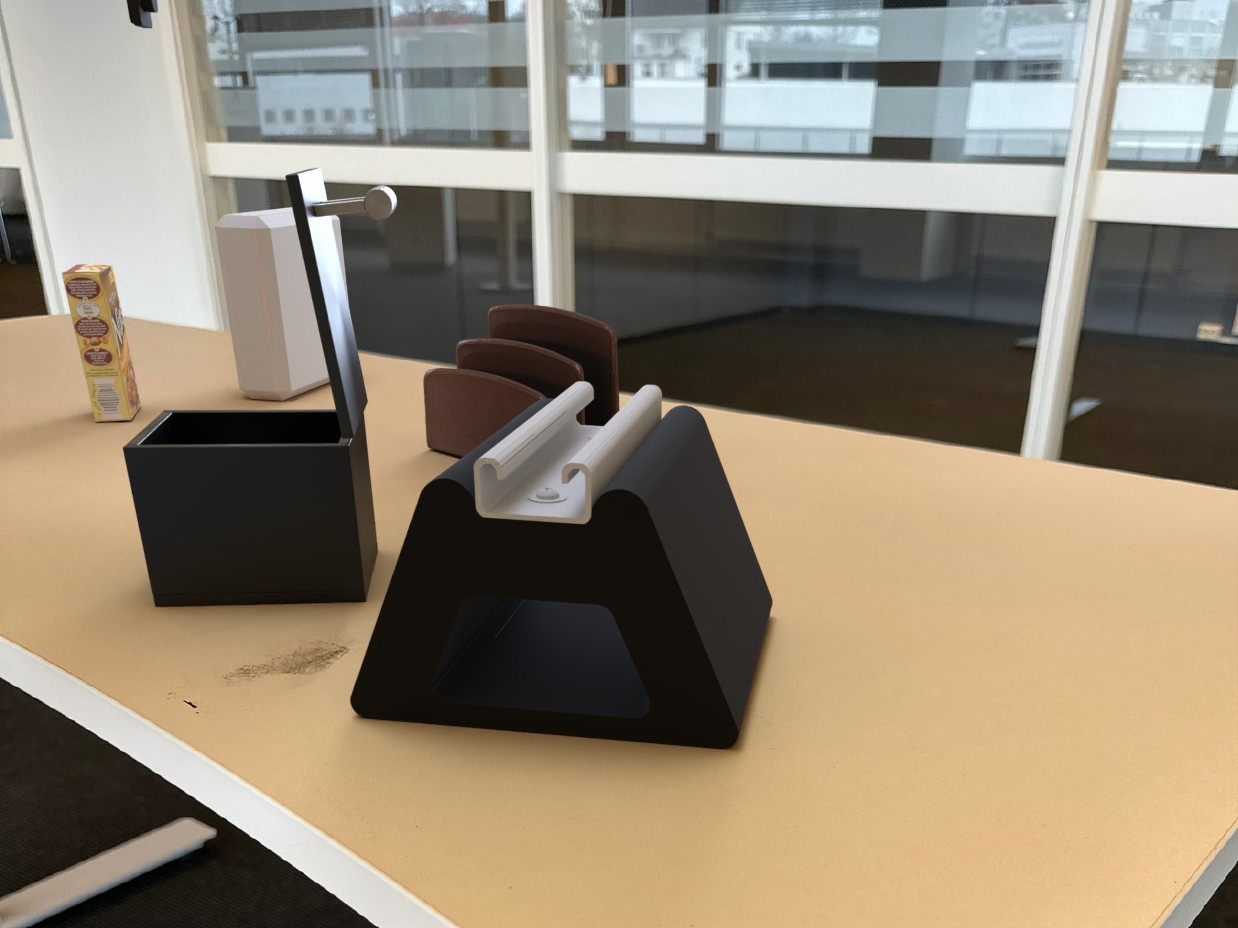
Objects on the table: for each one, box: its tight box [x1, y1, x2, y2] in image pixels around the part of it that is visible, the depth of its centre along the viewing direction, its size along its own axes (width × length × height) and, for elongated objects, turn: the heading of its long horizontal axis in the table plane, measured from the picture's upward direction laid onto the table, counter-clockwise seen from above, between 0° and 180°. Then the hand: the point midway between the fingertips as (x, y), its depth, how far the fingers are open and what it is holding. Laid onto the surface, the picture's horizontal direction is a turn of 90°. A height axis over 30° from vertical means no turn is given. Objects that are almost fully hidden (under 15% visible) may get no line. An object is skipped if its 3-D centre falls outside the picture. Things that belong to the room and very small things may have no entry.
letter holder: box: [422, 303, 620, 459], centre depth 123 cm, size 10×20×14 cm, turn 45°
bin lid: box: [285, 167, 398, 439], centre depth 83 cm, size 15×13×6 cm
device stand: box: [349, 381, 774, 750], centre depth 75 cm, size 22×22×15 cm
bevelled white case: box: [214, 206, 350, 402], centre depth 154 cm, size 21×8×20 cm, turn 169°
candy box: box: [61, 263, 142, 423], centre depth 137 cm, size 9×4×15 cm, turn 13°
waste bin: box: [122, 408, 379, 607], centre depth 89 cm, size 15×13×11 cm
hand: (63, 24), depth 78 cm, fingers open, 9 cm apart
